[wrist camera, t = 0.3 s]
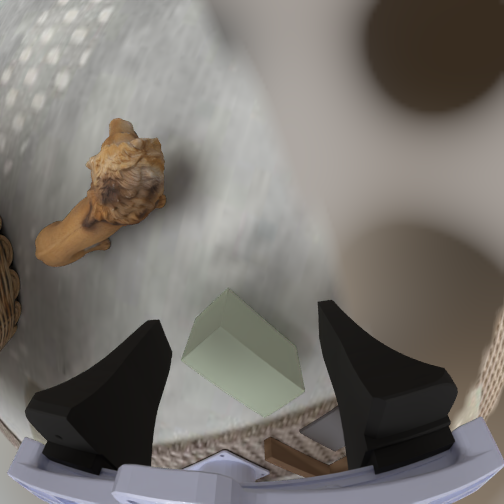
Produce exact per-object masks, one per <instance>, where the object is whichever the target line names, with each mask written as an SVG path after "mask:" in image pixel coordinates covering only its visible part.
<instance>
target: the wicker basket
mask: <svg viewBox="0 0 504 504" xmlns="http://www.w3.org/2000/svg"><path fill="white" fill-rule="evenodd" d="M1 226H2V220H1V217H0V229H1ZM12 259H13V249H12V246H11V243H10V242H9V240H8V239H7V238H6V237H5V236H3V235H0V351H1V350H2V349H3V347H4V346H5V345H6V344H7V342H8V341H9V340H10V339H11V337H12V336H13V335H14V334H15V332H16V330H17V325H16V323H17V321H18V319H19V317H20V314H21V305H20V303H19V302H18V301H15V299H16V297H17V295H18V293H19V289H20V280H19V277H18V274H17V273H16V272H15V271H14V270H12V269H9V266H10V264H11V263H12ZM16 306H17V307H16Z"/></svg>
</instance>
